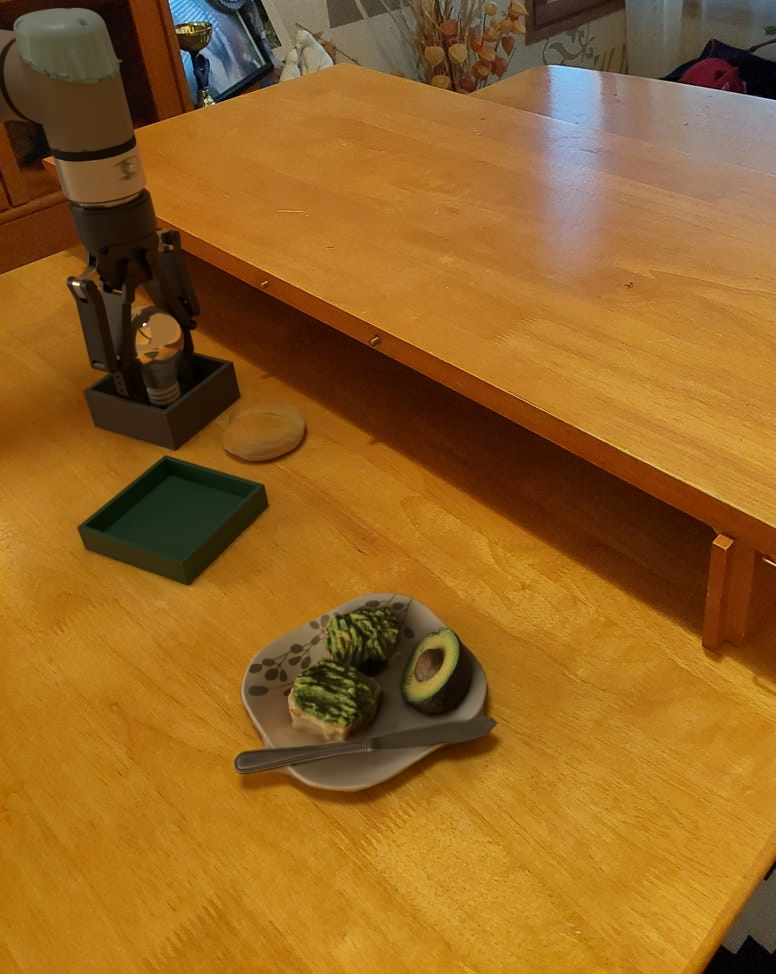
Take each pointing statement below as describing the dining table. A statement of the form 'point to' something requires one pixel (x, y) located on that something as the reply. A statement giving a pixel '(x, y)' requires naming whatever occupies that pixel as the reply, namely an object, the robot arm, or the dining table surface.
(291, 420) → the bread roll
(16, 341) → the dining table surface
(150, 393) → the light bulb
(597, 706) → the dining table surface
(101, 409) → the bin
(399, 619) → the avocado toast plate
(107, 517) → the tray
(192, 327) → the robot arm
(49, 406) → the dining table surface
